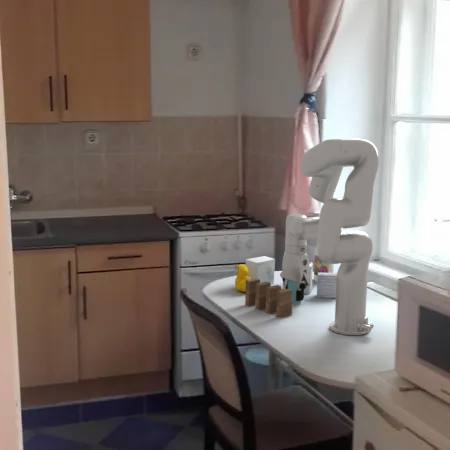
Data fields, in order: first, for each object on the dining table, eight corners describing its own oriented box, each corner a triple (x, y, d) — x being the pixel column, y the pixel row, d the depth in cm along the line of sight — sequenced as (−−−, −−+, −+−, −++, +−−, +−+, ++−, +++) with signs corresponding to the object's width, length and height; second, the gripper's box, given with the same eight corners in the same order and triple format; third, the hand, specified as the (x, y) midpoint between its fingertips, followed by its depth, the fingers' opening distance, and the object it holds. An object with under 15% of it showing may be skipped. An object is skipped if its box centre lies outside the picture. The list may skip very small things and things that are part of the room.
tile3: (269, 307, 242) (270, 282, 240) (259, 310, 239) (259, 284, 237) (266, 306, 243) (266, 281, 242) (255, 308, 240) (255, 283, 239)
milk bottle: (322, 277, 284) (324, 229, 280) (336, 281, 278) (339, 232, 274) (309, 280, 279) (311, 231, 275) (323, 284, 273) (325, 234, 269)
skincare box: (255, 288, 265) (256, 262, 263) (244, 285, 270) (244, 259, 268) (274, 284, 272) (275, 258, 270) (263, 281, 277) (263, 255, 275)
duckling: (229, 287, 266) (229, 262, 264) (241, 286, 269) (242, 261, 267) (242, 295, 256) (243, 269, 254) (255, 293, 258) (256, 267, 257)
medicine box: (338, 295, 258) (339, 272, 256) (338, 298, 254) (339, 275, 252) (316, 294, 259) (317, 272, 257) (317, 298, 254) (317, 275, 253)
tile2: (280, 311, 237) (281, 286, 236) (269, 314, 234) (270, 288, 233) (276, 310, 239) (277, 284, 237) (265, 312, 236) (266, 287, 234)
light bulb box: (281, 292, 261) (282, 264, 259) (284, 287, 267) (285, 260, 266) (310, 294, 259) (311, 266, 257) (312, 289, 265) (313, 262, 263)
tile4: (259, 303, 246) (260, 279, 244) (248, 306, 243) (249, 281, 241) (256, 302, 248) (256, 278, 246) (245, 304, 245) (245, 280, 243)
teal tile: (291, 300, 251) (292, 275, 250) (301, 303, 247) (301, 278, 246) (287, 300, 250) (288, 276, 248) (296, 304, 246) (297, 279, 244)
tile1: (291, 315, 233) (292, 289, 232) (280, 318, 230) (281, 292, 229) (287, 314, 235) (288, 288, 233) (276, 316, 232) (277, 290, 230)
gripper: (320, 252, 241) (318, 302, 244) (287, 243, 254) (285, 291, 257) (304, 254, 236) (303, 306, 240) (271, 246, 249) (270, 295, 253)
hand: (294, 298), depth 248 cm, fingers closed on teal tile, 4 cm apart
